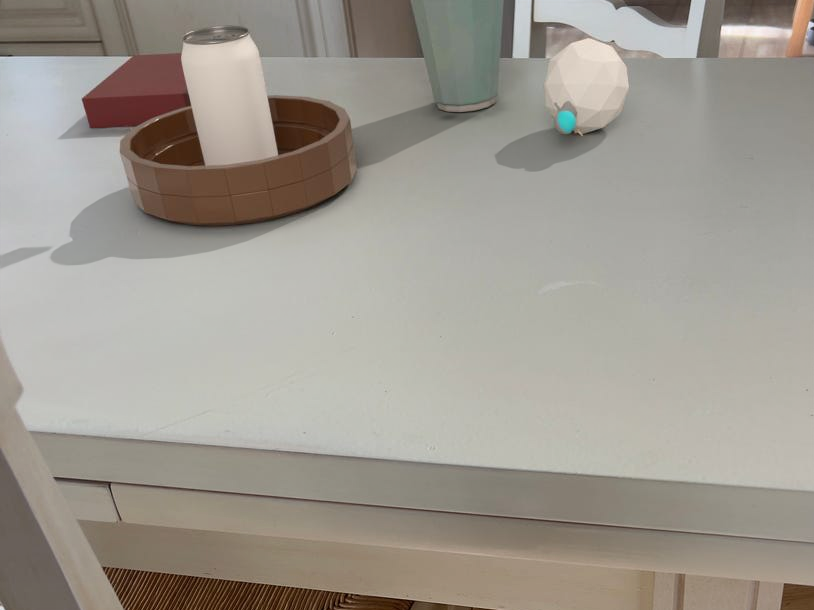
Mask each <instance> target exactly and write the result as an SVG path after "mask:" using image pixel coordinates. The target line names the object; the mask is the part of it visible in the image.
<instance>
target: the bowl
mask: <svg viewBox="0 0 814 610" xmlns="http://www.w3.org/2000/svg"><path fill="white" fill-rule="evenodd" d="M267 97H268V103H269V108H270V113H271V119H272V124H273V130H274V135H275V140H276V146H277V151H278V155H277V156H273V157H270V158H266V159H262V160H255V161H249V162H242V163H235V164H228V165H210V166H205V162H204V157H203V153H202V149H201V145H200V141H199V136H198V132H197V128H196V123H195V119H194V115H193V111H192V106H189V107H184V108H181V109H177V110H174V111H172V112H169V113H166V114H163V115H160V116H157V117H154V118H152V119H150V120H148V121H146V122H144V123H142V124H140V125H138V126H133V128H131V129H130V131H128V132H127V133H126V134H125V136H123V137H122V138H121V139H120V140H119V155H120V158H121V162H122V167H123V169H124V172H125V176H126V180H127V183H128V187H129V190H130V194H131V197H132V200H133V203H134V204H135V205H136V206H137V207H138V208H140V210H141V211H143V213H146V214H148V215H151V216H154V217H157V218H160V219H163V220H166V221H170V222H173V223H178V224H182V225H191V226H204V227H205V226H207V227H209V226H211V227H214V226H215V227H217V226H218V227H219V226H220V227H221V226H235V225H236V226H237V225H245V224H253V223H259V222H266V221H271V220H275V219H279V218H283V217H287V216H291V215H294V214H297V213H300V212H303V211H306V210H308V209H311V208H313V207H315V206H317V205H319V204H322V203H324V202H326V201H327V200H328V199H330V198H332V197H333V196H335V195H336V194H338V193H339V192H340V191H341V190H343V189H344V188H345V187H347V186H348V185H349V184H350V183H352V181H353V179H354V176H355V173H356V172H357V170H358V166H357V159H356V153H355V145H354V137H353V131H352V130H353V129H352V123H351V122H352V121H351V118H350V116H349V114H348V112H347V111H346V109H345V108H344V107H342V106H339V105H338V104H336V103H333V102H331V101H329V100H325V99H320V98H316V97H310V96H302V95H301V96H300V95H282V94H271V95H268V94H267Z"/></svg>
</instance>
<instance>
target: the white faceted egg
mask: <svg viewBox="0 0 814 610" xmlns="http://www.w3.org/2000/svg"><path fill="white" fill-rule="evenodd" d="M542 87H543V95H544V105H545V108H546V109H547V110H548V112H549V113H550V115H551V116H552V117H553V124H554V128H555V130H556V131H557V132H558V133H560V134H562V135H569V134H572V132H574V134H577V133H578V134H579V135H580V136H581V137H584V135H583V134H588V133H590V132H593V131H597V130H599V129H602V128H604V127H606V126H607V125H608V124H609V123H610V122H612V121H613V120H614V119H616V118H617V117H618V116H619V115H621V114H622V110H623V107H624V104H625V101H626V98H627V96H628V91H629V89H630V85H629V77H628V68H627V66H626V64H625V63H624V61H623V60H622V59H621V57H620V56H619V54H618V52H617V51H616V50H615V49H614V47H613V46H612V45H609V44H607V43H603V42H602V41H598V40H596V39H594V38H590V37H587V38H584V39H580V40H577V41H573V42H571V43H570V44H568V45H567V46H566V47H564V48H563V49H562V50H561V51H559V52H558V53H557V54H556V55H554V56H553V57H551V58H550V59H549V62H548V67H547V71H546V74H545V78H544V82H543V86H542Z"/></svg>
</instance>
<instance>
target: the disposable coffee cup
mask: <svg viewBox="0 0 814 610" xmlns="http://www.w3.org/2000/svg"><path fill="white" fill-rule="evenodd" d="M504 2H505V0H410V4H411V9H412V13H413V17H414V22H415V26H416V29H417V34H418V38H419V41H420V47H421V50H422V53H423V59H424V63H425V67H426V71H427V77H428V80H429V84H430V89H431V92H432V96H433V101H434V102H436V105H437V109H439V110H442V111H444V112H452V113H464V112H465V113H466V112H473V111H475V112H476V111H479V110H482V109H485V108H489V107H491V106H492V105H493V104H495V103H496V97H497V95H499V82H500V81H499V79H500V65H501V48H502V35H503V34H502V33H503V18H504V17H503V15H504V4H505V3H504Z"/></svg>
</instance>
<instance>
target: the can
mask: <svg viewBox="0 0 814 610" xmlns="http://www.w3.org/2000/svg"><path fill="white" fill-rule="evenodd" d="M250 32H251V31H250V29H249V27H247V26H243V25H236V24H235V25H233V24H232V25H231V24H230V25H229V24H227V25H214V26H209V27H208V26H207V27H202V28H197V29H195V30H192V31H188V32H186V33H184V34H182V36H181V37H180V38H181V41H182V51H181V53H182V55H181V61H182V67H183V71H184V76H185V80H186V85H187V89H188V93H189V98H190V102H191V106H192V111H193V115H194V119H195V123H196V128H197V132H198V136H199V141H200V145H201V149H202V153H203V157H204V162H205V166H210V165H228V164H235V163H242V162H249V161H255V160H262V159H266V158H270V157H273V156H277V155H278V151H277V146H276V140H275V135H274V130H273V124H272V119H271V113H270V108H269V103H268V97H267V96H268V92H267V87H266V82H265V81H266V80H265V76H264V71H263V67H262V61H261V56H260V52H259V48H258V46H257V45H256V43H255V42H254V40H253V39H252V37H251V34H250Z"/></svg>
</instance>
